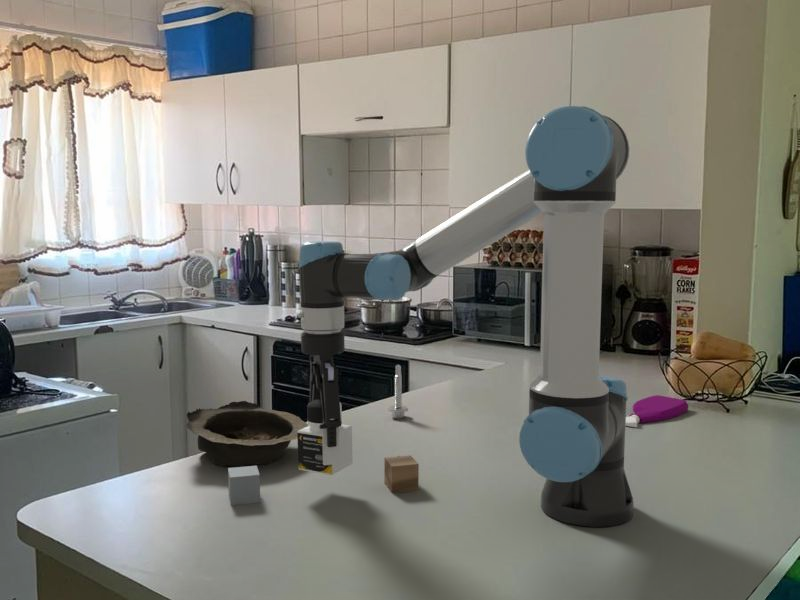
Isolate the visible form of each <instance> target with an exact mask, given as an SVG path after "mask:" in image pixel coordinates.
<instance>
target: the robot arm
mask: <svg viewBox="0 0 800 600" xmlns="http://www.w3.org/2000/svg"><path fill="white" fill-rule="evenodd" d="M626 134H627V133H626V132H625V130H624V129H623V128H622V127H621V126H620V125H619V124H618V122H616V121H615V120H614V119H612V118H611V117H609V116H606V115H603V114H601V113H600V112H598V111H596V110H595V109H594V108H590V107H587V106H578V105H567V106H562V107H558V108H554V109H553V110H550V111H548V112H547V113H546V114H544V115H543V116H542V117H540V119H538V120H537V121H536V123H535V124H534V125H533V127H532V128H531V129H530V132H529V134H528V137H527V139H526V143H525V152H524V153H525V162H526V164H527V165H526V166H527V167H528V169H526V170H524V171H523V172H522V173H520V174H518V175H517V176H515V177H514V178H512V179H511V180H509V181H508V182H506V183H505V184H503V185H501V186H499V187H498V188H497V189H494V190H493V191H492V192H490V193H488V194H487V195H485V196H484V197H481V199H479V200H477V201H475V202H474V203H473V204H471V205H468V207H466V208H464V209H462V210H461V211H460V212H458V213H456V214H455V215H453V216H452V217H450V218H448V219H447V220H446V221H444V222H442V223H440V224H439V225H437V226H435V228H433V229H431V230H430V231H428V232H426V233H425V234H423V235H422V236H419V237H418V238H417V239H416V240H414V241H412V242H411V243H409V244H407V245H405V246H404V247H403V248H401V249H399V250H394V251H385V252H378V253H377V252H376V253H346V252H344V247H343V244H342V242H340V241H332V240H331V241H327V240H325V241H320V240H319V241H307V242H303V243H302V244H301V245H300V247H299V258H298V259H299V262H298V263H299V264H298V265H299V266H298V267H297V268H298V274H299V275H298V276H299V290H300V312H297V314H296V315H297V318H298V319H300V328H301V329H302V330H303V331H302V333H301V334H300V346H301V352H302V353H303V354H304V355H306V356H309V367H310V368H309V400H308V404H309V403H310V402H312V401H314V400H317V399H321V406H322V415H323V424H320V426H319V427H320V429H322V446H323V465H332V464H339V426H341V424H342V423H343V421H342V422H341V414H340V403H341V401H340V388H339V368H338V366H337V364H336V363H334V358H333V356H334V355H340V354H342V353H344V351H345V347H346V346H345V345H346V344H345V332H344V331H343V330H342V329H344V328H345V305H344V300H345V299H346V298H347V299H348V298H353V299H365V300H366V299H367V300H378V301H382V302H383V301H388V300H393V301H394V300H400V299H402V298H404V297H405V295H406V294H407V293H408V292H417V291H420V290H421V289H423V288H426V287H427V286H429V284H430V283H432V282H433V280H434V279H435V278H436V277H438V276H440V275H442V274H443V273H445V272H446V271H448V270H449V269H451V268H453V267H455V266H456V265H458V264H460V263H461V262H464V261H465V260H466V259H468V258H471V257H472V256H473V255H474V256H475V254H478V252H481V251H482V250H484V249H486V248H487V247H489V246H490V245H492V244H494V243H496V242H497V241H499V240H501V239H503V238H505V237H506V236H508V235H509V234H511V233H513V232H514V231H517V230H518V229H519V228H521V227H523V226H525V225H526V224H528V223H530V222H532V221H533V220H535V219H536V218H538V217H541V216H542V215H543V233H542V236H543V237H542V239H543V241H542V244H543V245H542V275H541V277H542V278H541V279H542V281H541V313H540V314H541V317H540V318H541V320H540V322H541V323H540V326H541V327H540V356H539V357H540V363H539V364H540V365H539V374H538V376H537V377H536V378H534V379H533V380H532V381H531V382H530V384H529V391H528V393H529V395H528V396H529V397H528V398H529V400H528V415H527V416H526V418H525V419H524V420H523V423H522V425H521V427H520V432H519V438H518V439H519V440H518V441H519V449H520V451H521V454H522V456H523V458H524V460H525V461H526V463H527V465H528V466H530V467H531V469H533V470H534V472H536V473H537V474H538V475H539V476H542V477H543V478H545V482H544V485H543V488H542V490H541V495H540V508H541V510H542V512H543V513H544V514H546V515H547V516H549V517H551V518H553V520H554V519H555V520H557V521H560V522H563V523H566V524H570V525H575V526H583V527H594V528H595V527H596V528H602V527H603V528H604V527H613V526H619V525H621V524H624V523H626V522H629V521H630V520H631V519H632V518H633V516H634V505H635V503H634V498H633V494H632V490H631V488H630V484H629V481H628V477H627V474H626V471H625V449H626V448H625V447H626V446H625V445H626V444H625V443H626V426H625V423H626V417H627V414H626V413H627V401H628V400H629V398H628V395H627V394H628V393H627V384H626V382H625V381H624V380H623V379H621V378H618V377H614V376H608V375H601V374H599V373H600V348H601V345H600V344H601V320H602V319H601V316H602V313H601V312H602V291H603V290H602V289H603V288H602V287H603V286H602V285H603V259H604V258H603V257H604V256H603V254H604V230H605V228H604V226H605V224H604V223H605V215H606V213H607V212H608V211H609V210H610V209H611V208H612V207H613V206H614V205H615V204H616V201H617V200H616V198H617V197H616V196H617V195H616V193H617V180H618V178H620V176H621V175H622V174H623V172H624V170H625V169H626V167H627V164H628V162H629V158H630V145H629V139H628V137H627V135H626ZM344 298H345V299H344ZM330 419H334V420H330Z"/></svg>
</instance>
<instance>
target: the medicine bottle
mask: <svg viewBox="0 0 800 600" xmlns="http://www.w3.org/2000/svg"><path fill="white" fill-rule="evenodd" d="M306 408H307V410H306V415H307V422H306V423H307V424H308V425H309V426H308V427H305V428H303V429H301V430H298V432H297V439H296V440H297V466H298V467H297V468H298V470H299V471H305V472H309V473H315V474H320V475H321V474H323V475H327V476H333V475H335V474H337V473H339V472H341V471H342V470H343V469H345V468H347V467H349V466H351V465H352V464H353V426H352V425H348V424H341V426H339V464H332V465H323V446H322V429H320V427H319V426H320V424H323V415H322V406H321V399H317V400H314V401H312V402H310V403H309V402H308V404H307V405H306ZM342 409H343V408H342V403H341V402H340V414H341V422H342V423H343V419H342V417H343V416H342V415H343V414H342V412H343V410H342ZM330 420H334V419H330Z"/></svg>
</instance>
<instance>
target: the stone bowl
mask: <svg viewBox="0 0 800 600" xmlns="http://www.w3.org/2000/svg"><path fill="white" fill-rule="evenodd" d="M186 418H187V423H186V428H187V429H188V430H190V431H191V432H192V433H194V434H195V435H198V436H197V449H198V450H199V451H200V452H204V453H206V454H207V455H208V457H209V459H210V460H211V462H213V464H215V465H217V466H220V467H229V466H231V467H233V468H235V467H245V466H249V465H264V466H265V465H268V464H269V465H270V463H272V462H274V461H277V460H278V459H280V458H282V457H283V456H284V453H285V451H286V449H287V448H288V447H289V446H290V443H291V442H292V441H293V440H298V439H297V432H298V430H301V429H303V428H305V427H308V426H309V425H308V423H307V422H305V420H303V419H301V418H300V416H297V415H295V414H293V413H289V412H287V411H279V410H276V409H264V407H262V406H260V405H259V404H258V403H256V402H255V403H254V402H253V403H252V402H249V401H246V400H242V401H241V400H240V401H231V402H229V404H225V405H221V406H220V407H218V408H213V407H211V408H196V409H195V410H193V411H188V412H187V413H186Z"/></svg>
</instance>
